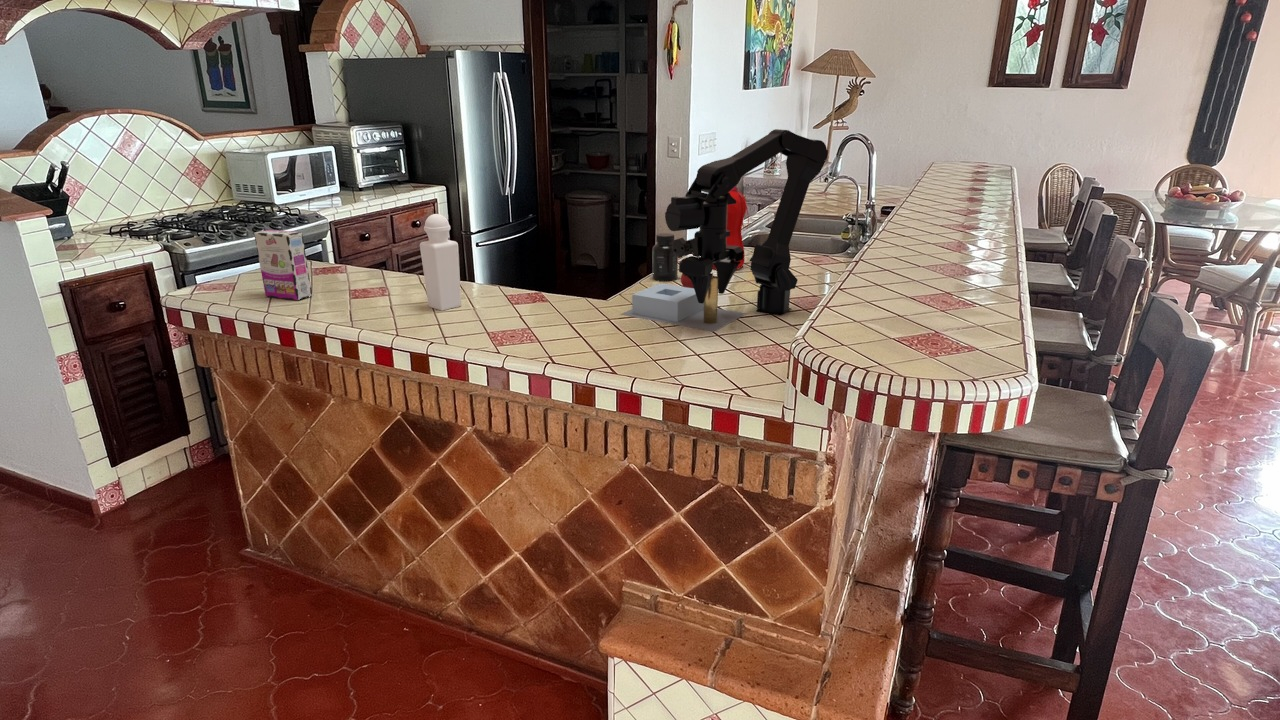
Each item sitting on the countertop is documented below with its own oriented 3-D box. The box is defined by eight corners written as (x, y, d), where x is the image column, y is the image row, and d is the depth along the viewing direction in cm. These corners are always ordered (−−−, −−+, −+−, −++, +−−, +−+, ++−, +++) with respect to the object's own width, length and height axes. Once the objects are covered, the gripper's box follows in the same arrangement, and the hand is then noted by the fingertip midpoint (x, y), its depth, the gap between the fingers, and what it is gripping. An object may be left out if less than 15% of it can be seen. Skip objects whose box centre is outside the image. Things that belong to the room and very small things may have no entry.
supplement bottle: (647, 279, 201) (647, 235, 197) (661, 274, 207) (661, 231, 203) (668, 282, 198) (669, 238, 194) (682, 277, 203) (682, 234, 199)
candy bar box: (313, 296, 187) (303, 231, 181) (298, 301, 182) (287, 235, 177) (280, 292, 191) (269, 228, 185) (264, 297, 186) (252, 231, 181)
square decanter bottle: (464, 306, 178) (456, 213, 170) (440, 312, 173) (431, 217, 166) (449, 301, 182) (440, 210, 174) (425, 306, 177) (415, 214, 170)
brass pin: (719, 321, 164) (720, 276, 160) (712, 324, 161) (714, 279, 158) (707, 318, 165) (708, 275, 162) (700, 322, 163) (702, 277, 159)
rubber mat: (746, 315, 169) (746, 313, 169) (713, 334, 157) (713, 331, 156) (657, 300, 182) (657, 298, 181) (620, 316, 169) (620, 314, 169)
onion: (695, 297, 184) (696, 266, 181) (676, 294, 187) (676, 263, 184) (708, 292, 188) (708, 261, 185) (689, 289, 191) (689, 258, 188)
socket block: (703, 308, 173) (704, 290, 171) (677, 321, 163) (677, 302, 162) (660, 301, 179) (660, 283, 177) (632, 313, 170) (632, 294, 168)
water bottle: (739, 273, 207) (743, 182, 198) (704, 269, 213) (706, 179, 204) (753, 267, 214) (757, 178, 206) (719, 262, 220) (722, 176, 211)
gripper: (701, 216, 168) (699, 284, 173) (657, 229, 153) (657, 302, 158) (746, 221, 162) (743, 290, 167) (704, 235, 147) (702, 310, 153)
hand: (711, 298), depth 161 cm, fingers open, 9 cm apart
